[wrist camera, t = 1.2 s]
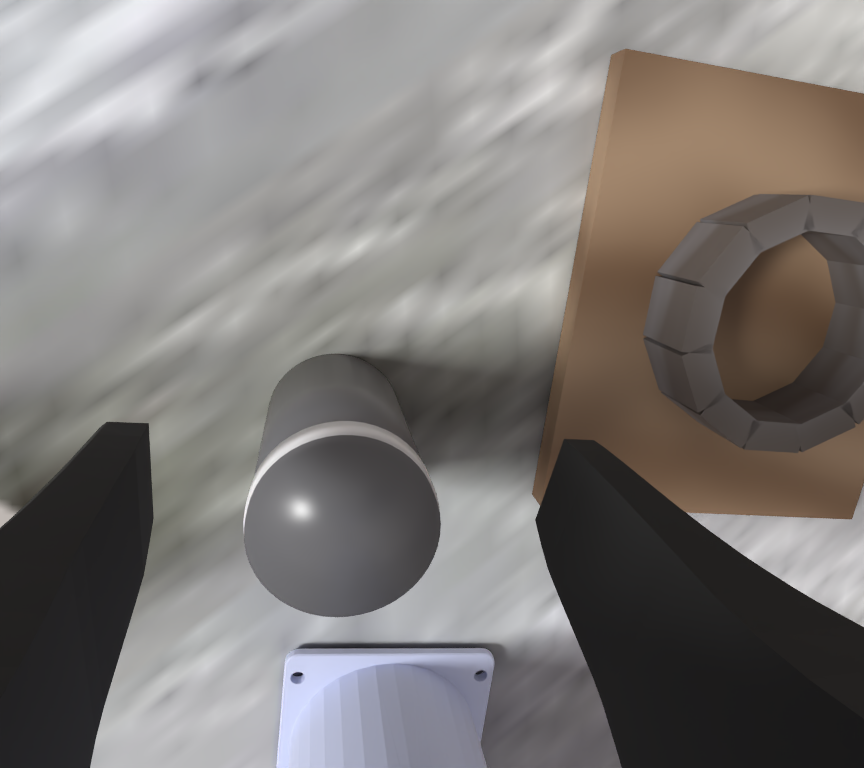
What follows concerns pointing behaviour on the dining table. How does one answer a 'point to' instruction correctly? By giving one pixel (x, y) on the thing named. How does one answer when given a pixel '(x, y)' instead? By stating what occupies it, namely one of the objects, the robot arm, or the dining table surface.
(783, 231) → the mount
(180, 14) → the dining table surface
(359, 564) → the lens
